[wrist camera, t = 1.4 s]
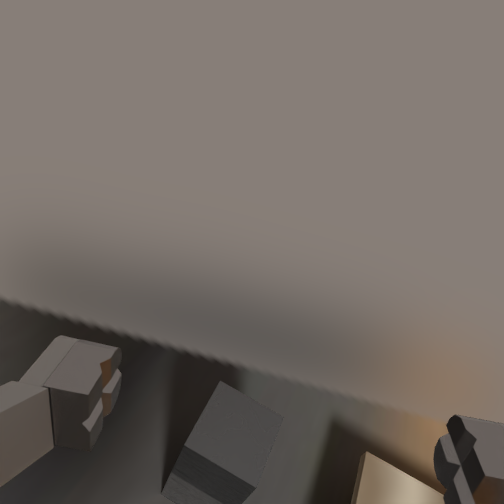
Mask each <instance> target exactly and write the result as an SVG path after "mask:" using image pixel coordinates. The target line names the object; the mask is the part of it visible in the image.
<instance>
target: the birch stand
mask: <svg viewBox="0 0 504 504" xmlns="http://www.w3.org/2000/svg"><path fill="white" fill-rule="evenodd" d="M443 496H444V495H443V494H441V493H439V492H437V491H436V490H434V489H432V488H430V487H429V486H427V485H425V484H423V483H422V482H420V481H418V480H416V479H415V478H413V477H411V476H409V475H408V474H406V473H404V472H402V471H401V470H399V469H397V468H395V467H394V466H392V465H390V464H388V463H387V462H385V461H383V460H381V459H379V458H378V457H376V456H374V455H372V454H371V453H369V452H367V451H366V452H365V453H364V454H362V455H361V458H360V463H359V467H358V472H357V477H356V482H355V486H354V491H353V496H352V500H351V504H445V502H444V499H443Z"/></svg>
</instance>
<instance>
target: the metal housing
mask: <svg viewBox="0 0 504 504" xmlns="http://www.w3.org/2000/svg"><path fill="white" fill-rule="evenodd" d="M283 418H284V417H283V416H281V415H279V414H278V413H276V412H274V411H273V410H271V409H269V408H267V407H266V406H264V405H262V404H260V403H259V402H257V401H255V400H253V399H252V398H250V397H248V396H246V395H245V394H243V393H241V392H239V391H238V390H236V389H234V388H232V387H231V386H229V385H227V384H225V383H224V382H222V381H220V382H219V384H218V385H217V387H216V389H215V391H214V392H213V394H212V396H211V398H210V400H209V401H208V403H207V405H206V407H205V408H204V410H203V412H202V414H201V416H200V417H199V419H198V421H197V423H196V425H195V426H194V428H193V430H192V432H191V433H190V435H189V437H188V439H187V441H186V442H185V444H184V446H183V448H182V450H181V453H180V455H179V457H178V459H177V461H176V463H175V465H174V467H173V470H172V472H171V474H170V476H169V478H168V480H167V482H166V484H165V487H164V489H163V491H162V493H161V495H163V496H164V497H166V498H167V499H169V500H171V501H172V502H174V503H176V504H242V503H243V502H244V501H245V500H246V499H247V498H248V496H249V495H250V494H251V493H252V492H253V491H254V490H255V489H256V488H257V485H258V483H259V480H260V477H261V475H262V472H263V470H264V467H265V465H266V462H267V459H268V457H269V454H270V452H271V449H272V446H273V444H274V441H275V439H276V436H277V433H278V431H279V428H280V426H281V423H282V421H283Z"/></svg>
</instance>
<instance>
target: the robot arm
mask: <svg viewBox="0 0 504 504" xmlns="http://www.w3.org/2000/svg"><path fill="white" fill-rule="evenodd" d="M121 361H122V352H121V349H120V348H117V347H113V346H109V345H104V344H100V343H95V342H91V341H86V340H82V339H80V340H79V339H75V338H71V337H67V336H62V335H60V336H58V337H57V338H55V339H54V340H53V341H52V342H51V344H50V345H49V346H48V347H47V348H46V350H45V351H44V352H43V353H42V354H41V355H40V357H39V358H38V359H37V360H36V361H35V363H34V364H33V365H32V366H31V367H30V369H29V370H28V371H27V372H26V373H25V374H24V376H23V377H22V378H21V379H20V380H19V382H16V381H10V382H8V383H6V384H4V385H2V386H0V487H1V486H3V485H4V484H5V483H7V482H8V481H9V480H11V479H12V478H13V477H15V476H16V475H17V474H19V473H20V472H22V471H23V470H24V469H26V468H27V467H28V466H30V465H31V464H32V463H34V462H35V461H36V460H38V459H39V458H40V457H42V456H43V455H45V454H46V453H47V452H49V451H50V450H51V449H53V448H54V445H55V446H60V447H66V448H72V449H77V450H83V451H89V452H91V450H92V448H93V446H94V444H95V442H96V440H97V438H98V436H99V435H100V433H101V431H102V429H103V417H104V416H106V415H108V414H109V413H111V412H112V410H113V408H114V406H115V403H116V401H117V398H118V395H119V392H120V387H121V377H122V374H121V373H120V371H119V370H118V369H117V368H118V366H119V364H120V363H121ZM446 426H447V429H448V431H449V433H448V434H446V435H444V436H442V437H440V438H439V440H438V442H437V444H436V446H435V451H434V469H435V472H436V476H437V479H438V480H439V481H440V482H441V484H442V485H443V486H444V487H445V488H446V489H447V490H446V492H445V494H444V496H443V499H444V502H445V504H504V424H503V423H496V422H492V421H487V420H481V419H476V418H471V417H465V416H460V415H454V416H453V417H451V418H450V419H449V421H448V423H447V425H446Z"/></svg>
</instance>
